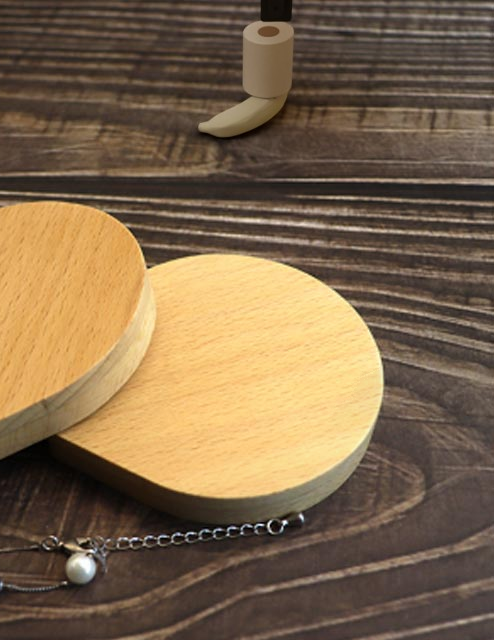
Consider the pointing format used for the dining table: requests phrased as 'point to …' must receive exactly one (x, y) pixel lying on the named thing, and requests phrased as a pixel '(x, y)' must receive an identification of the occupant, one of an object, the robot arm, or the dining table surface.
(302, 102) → the dining table surface
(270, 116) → the fruit
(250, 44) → the paper roll
